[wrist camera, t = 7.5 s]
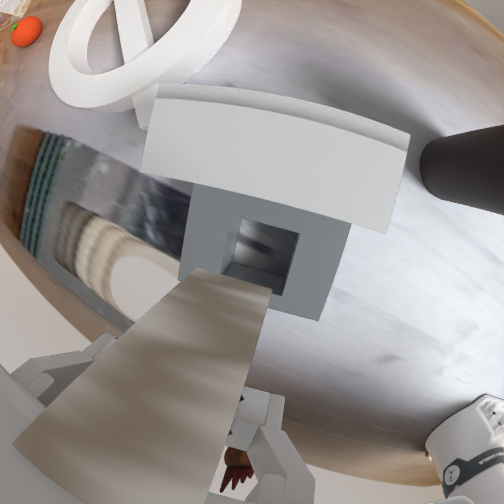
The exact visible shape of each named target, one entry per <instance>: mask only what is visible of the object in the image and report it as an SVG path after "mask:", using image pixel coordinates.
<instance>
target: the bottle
mask: <svg viewBox="0 0 504 504" xmlns="http://www.w3.org/2000/svg"><path fill="white" fill-rule="evenodd" d="M420 172H421V176H422V179H423V182H424V184H425V185H426V187H427V189H428V190H429V191H430V192H431V193H432V194H433V195H434V196H435V197H438V198H440V199H442V200H445V201H450V202H454V203H459V204H463V205H467V206H471V207H475V208H479V209H483V210H486V211H490V212H494V213H497V214H501V215H504V125H500V126H495V127H489V128H484V129H479V130H475V131H470V132H465V133H461V134H456V135H452V136H448V137H443V138H439V139H435V140H432V141H431V142H430V143H429V144H427V145H426V147H425V149H424V150H423V152H422V155H421V159H420Z"/></svg>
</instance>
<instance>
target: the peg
mask: <svg viewBox="0 0 504 504" xmlns="http://www.w3.org/2000/svg"><path fill="white" fill-rule="evenodd" d="M271 293H272V289H271V288H267V287H263V286H260V285H256V284H253V283H249V282H246V281H242V280H239V279H235V278H232V277H228V276H225V275H222V274H218V273H215V272H211V271H208V270H205V269H201V268H198V267H197V268H196V269H195V270H193V271H192V272H191V273H190V274H189V275H188V276H187V277H186V278H184V279H183V280H182V281H181V282H180V283H179V284H178V285H177V286H175V287H174V288H173V289H172V290H171V291H170V292H169V293H168V294H167V295H166V296H164V297H163V298H162V299H161V300H160V301H159V302H158V303H157V304H156V305H154V306H153V307H152V308H151V309H150V310H149V311H148V312H147V313H146V314H145V315H143V316H142V317H141V318H140V319H139V320H138V321H137V322H136V323H135V324H134V325H132V326H131V327H130V328H129V329H128V330H127V331H126V332H125V333H124V334H123V335H122V336H121V337H119V338H118V339H117V340H116V341H115V342H114V343H113V344H112V345H111V346H110V347H109V348H108V349H107V350H106V351H105V352H103V353H102V354H101V355H100V356H99V357H98V358H97V359H96V360H95V361H94V362H93V363H92V364H91V365H90V366H89V367H88V368H87V369H86V370H85V371H83V372H82V373H81V374H80V375H79V376H78V377H77V378H76V379H75V380H74V381H73V382H72V383H71V384H70V385H69V386H68V387H67V388H66V389H65V390H64V391H63V392H62V393H61V394H60V395H59V396H58V397H57V398H56V399H55V400H54V401H53V402H52V403H51V404H50V405H49V406H48V407H47V408H46V409H45V410H44V411H43V412H42V413H41V414H40V415H39V416H38V417H37V418H36V419H35V420H34V421H33V422H32V423H31V424H30V425H29V426H28V427H27V428H26V429H25V430H24V431H23V432H22V433H21V434H20V435H19V436H18V437H17V438H16V439H15V440H14V441H13V442H12V445H13V446H14V447H15V448H16V449H17V450H18V451H19V452H20V453H21V454H22V455H23V456H24V457H25V458H26V459H27V460H28V461H30V462H31V463H32V464H33V465H34V466H35V467H36V468H38V469H39V470H40V471H41V472H42V473H44V474H45V475H46V476H47V477H49V478H50V479H51V480H52V481H54V482H55V483H56V484H58V485H59V486H60V487H62V488H63V489H64V490H66V491H67V492H69V493H70V494H71V495H73V496H74V497H76V498H77V499H79V500H80V501H82V502H84V503H85V504H204V503H205V500H206V497H207V494H208V492H209V489H210V486H211V483H212V480H213V478H214V475H215V472H216V469H217V466H218V463H219V460H220V458H221V454H222V452H223V449H224V446H225V443H226V440H227V437H228V434H229V431H230V428H231V425H232V422H233V419H234V416H235V413H236V409H237V406H238V403H239V400H240V397H241V394H242V391H243V387H244V384H245V381H246V378H247V375H248V371H249V368H250V365H251V361H252V358H253V355H254V351H255V348H256V345H257V341H258V338H259V335H260V331H261V328H262V324H263V321H264V317H265V314H266V310H267V307H268V303H269V300H270V296H271Z"/></svg>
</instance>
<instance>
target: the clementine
mask: <svg viewBox="0 0 504 504" xmlns="http://www.w3.org/2000/svg"><path fill="white" fill-rule="evenodd" d="M41 27H42V24H41V21H40V19H39V18H37V17H35V16H28V17H25V18H23V19H22V20H20V21H19V22H18V23H17V24H16V23H15V25H14V26H13V28H12V32H11V41H12V43H13V44H14V45H15V46H17V47H24V46H27V45H29V44H31V43H32V42H33V41H35V40H36V38H37V37H38V36H39V34H40V32H41Z"/></svg>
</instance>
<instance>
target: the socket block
mask: <svg viewBox="0 0 504 504" xmlns="http://www.w3.org/2000/svg"><path fill="white" fill-rule="evenodd" d="M409 141H410V134H408V133H405V132H403V131H400V130H398V129H395V128H393V127H390V126H388V125H385V124H382V123H379V122H377V121H374V120H371V119H368V118H365V117H362V116H359V115H356V114H353V113H350V112H346V111H343V110H340V109H336V108H333V107H329V106H325V105H322V104H318V103H314V102H310V101H305V100H301V99H297V98H292V97H287V96H282V95H277V94H272V93H266V92H260V91H254V90H247V89H240V88H232V87H224V86H214V85H201V84H185V83H160V85H159V88H158V92H157V95H156V99H155V103H154V107H153V111H152V115H151V119H150V123H149V128H148V132H147V137H146V141H145V146H144V151H143V156H142V162H141V167H140V172H141V173H146V174H152V175H157V176H162V177H167V178H173V179H178V180H182V181H187V182H192V183H194V185H193V190H192V195H191V200H190V206H189V211H188V217H187V223H186V229H185V235H184V241H183V248H182V255H181V262H180V269H179V276H178V281H182V280H183V279H184V278H186V277H187V276H188V275H189V274H190V273H191V272H192V271H193V270H195V269H196V268H197V267H198V268H201V269H205V270H208V271H211V272H215V273H218V274H222V275H225V276H228V277H232V278H235V279H239V280H242V281H246V282H249V283H253V284H256V285H260V286H263V287H267V288H271V289H272V293H271V296H270V300H269V303H268V307H267V308H271V309H274V310H278V311H281V312H285V313H289V314H292V315H296V316H300V317H304V318H308V319H312V320H315V321H319V318H320V315H321V313H322V310H323V308H324V305H325V302H326V299H327V297H328V294H329V291H330V289H331V286H332V283H333V280H334V277H335V274H336V271H337V268H338V265H339V262H340V259H341V256H342V253H343V250H344V247H345V244H346V241H347V237H348V234H349V231H350V228H351V224H355V225H358V226H361V227H365V228H368V229H371V230H374V231H377V232H380V233H383V234H386V233H387V229H388V226H389V223H390V220H391V216H392V213H393V209H394V206H395V202H396V198H397V194H398V191H399V187H400V183H401V178H402V174H403V170H404V165H405V161H406V156H407V151H408V146H409ZM242 218H244V219H248V220H252V221H256V222H259V223H263V224H267V225H271V226H274V227H278V228H282V229H286V230H289V231H293V232H297V233H298V235H297V238H296V242H295V246H294V249H293V253H292V256H291V260H290V263H289V267H288V270H287V274H286V277H283V276H279V275H276V274H272V273H268V272H265V271H261V270H258V269H254V268H251V267H247V266H243V265H240V264H236V263H233V262H232V260H233V256H234V251H235V247H236V242H237V237H238V233H239V228H240V224H241V220H242Z"/></svg>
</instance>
